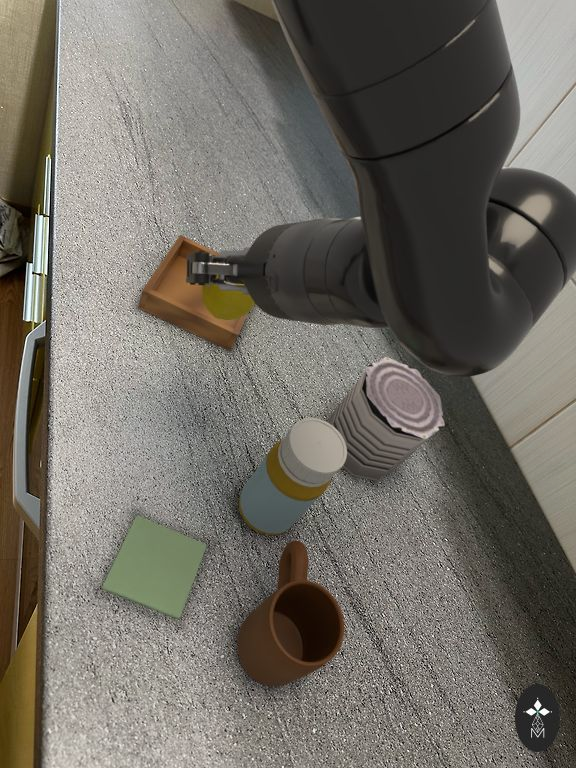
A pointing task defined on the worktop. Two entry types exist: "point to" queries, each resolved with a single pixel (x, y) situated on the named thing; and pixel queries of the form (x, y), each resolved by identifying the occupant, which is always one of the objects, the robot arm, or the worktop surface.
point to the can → (386, 418)
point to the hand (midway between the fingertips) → (227, 272)
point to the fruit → (226, 302)
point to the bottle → (292, 476)
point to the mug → (291, 625)
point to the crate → (186, 298)
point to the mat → (155, 567)
